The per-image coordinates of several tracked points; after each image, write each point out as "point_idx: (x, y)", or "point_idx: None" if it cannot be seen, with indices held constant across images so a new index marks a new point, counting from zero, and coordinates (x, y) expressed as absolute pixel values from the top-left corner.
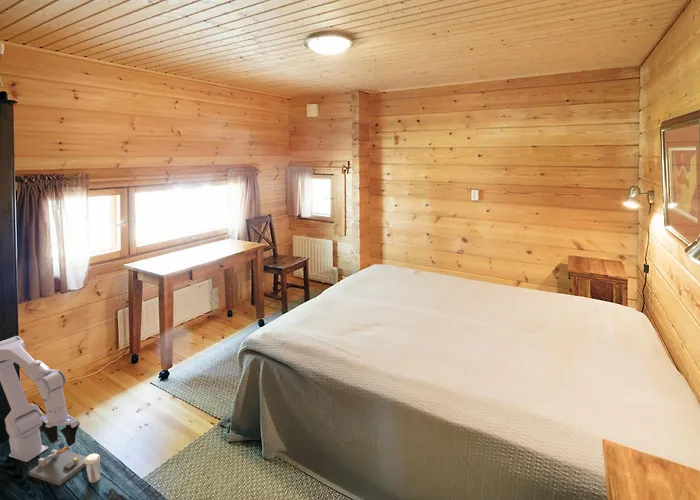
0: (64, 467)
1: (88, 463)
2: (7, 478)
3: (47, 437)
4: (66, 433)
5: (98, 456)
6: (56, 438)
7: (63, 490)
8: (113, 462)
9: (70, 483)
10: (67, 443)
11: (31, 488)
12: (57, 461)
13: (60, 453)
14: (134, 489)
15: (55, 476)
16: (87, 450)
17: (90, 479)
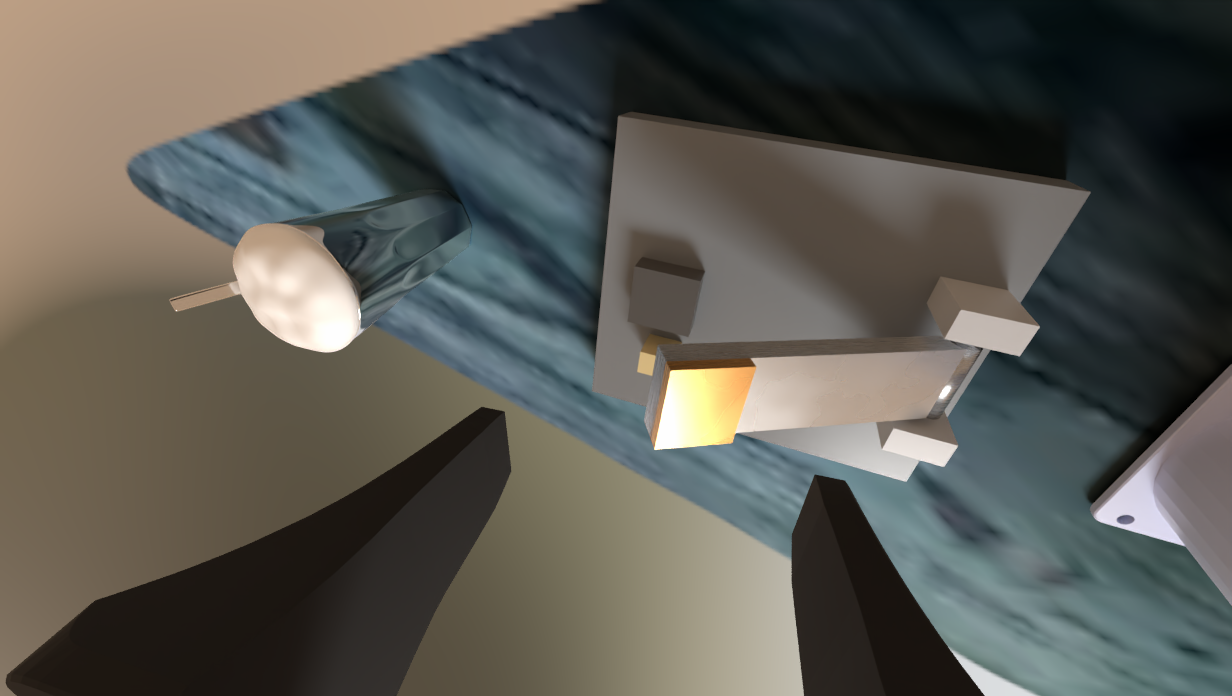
0: (688, 275)
1: (254, 227)
2: None
3: (899, 583)
4: (129, 589)
5: (256, 317)
6: (796, 554)
7: (553, 68)
8: (470, 369)
9: (566, 155)
10: (465, 432)
11: (893, 5)
12: None
13: (672, 351)
14: (190, 182)
15: (705, 174)
16: (715, 466)
17: (416, 195)
